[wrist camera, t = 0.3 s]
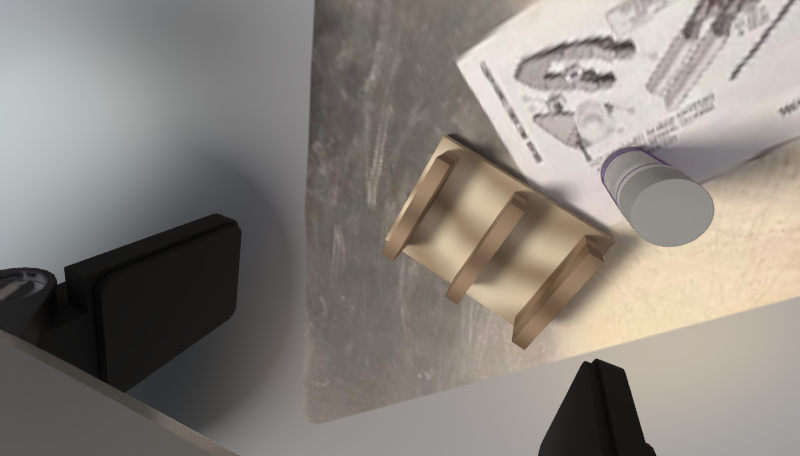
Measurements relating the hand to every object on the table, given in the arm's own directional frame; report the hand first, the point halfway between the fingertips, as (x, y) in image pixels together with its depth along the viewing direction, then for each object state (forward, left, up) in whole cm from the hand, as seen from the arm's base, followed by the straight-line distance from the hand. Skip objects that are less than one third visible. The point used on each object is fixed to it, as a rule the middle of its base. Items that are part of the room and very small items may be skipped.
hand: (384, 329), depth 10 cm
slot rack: (+9, +4, -35) cm, 36 cm away
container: (-4, +11, -35) cm, 37 cm away
